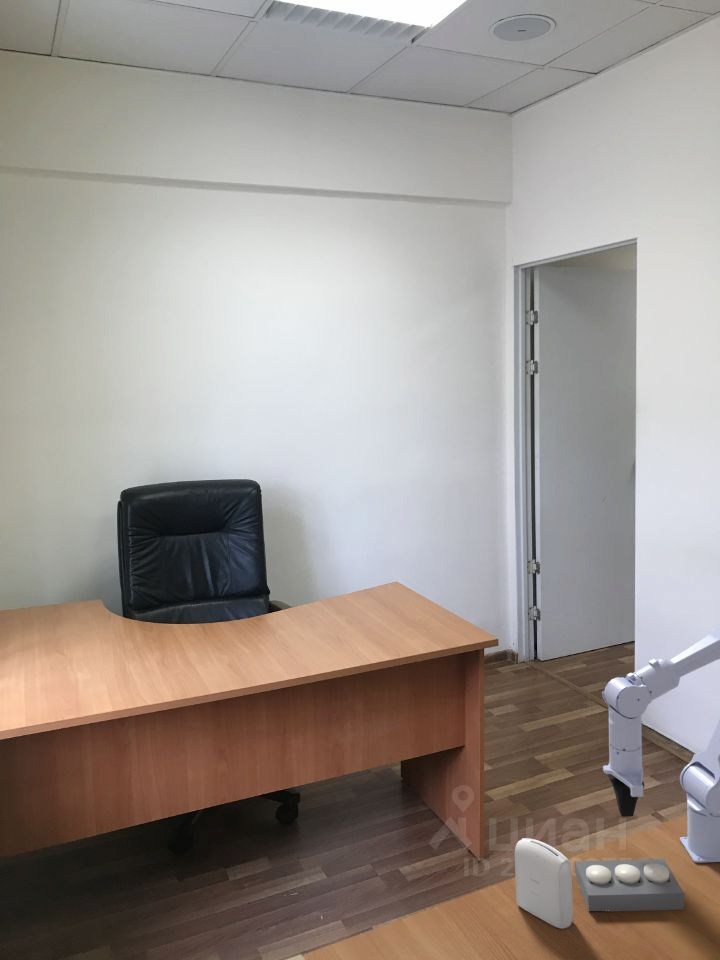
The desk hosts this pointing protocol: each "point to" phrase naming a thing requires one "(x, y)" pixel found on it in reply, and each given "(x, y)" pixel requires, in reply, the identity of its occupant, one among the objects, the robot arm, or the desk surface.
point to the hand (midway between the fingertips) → (626, 814)
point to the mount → (629, 889)
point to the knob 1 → (598, 874)
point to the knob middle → (627, 874)
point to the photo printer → (544, 882)
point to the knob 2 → (656, 873)
